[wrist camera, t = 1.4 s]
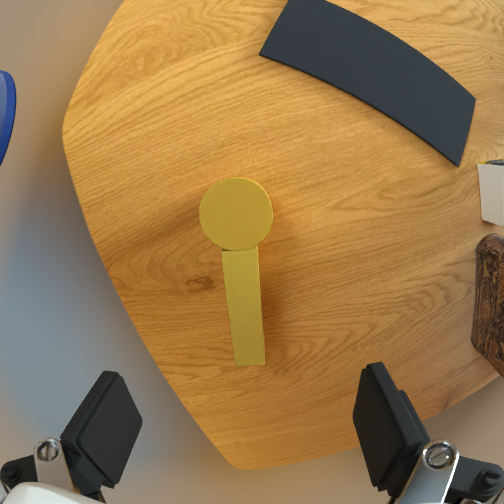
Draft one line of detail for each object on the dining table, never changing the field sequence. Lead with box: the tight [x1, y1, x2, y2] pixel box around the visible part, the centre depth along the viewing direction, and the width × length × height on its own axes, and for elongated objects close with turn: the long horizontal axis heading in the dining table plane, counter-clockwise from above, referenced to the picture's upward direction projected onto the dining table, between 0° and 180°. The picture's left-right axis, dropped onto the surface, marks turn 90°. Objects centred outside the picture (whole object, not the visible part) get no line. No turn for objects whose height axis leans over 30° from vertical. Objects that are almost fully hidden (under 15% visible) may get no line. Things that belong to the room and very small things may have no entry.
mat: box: [259, 0, 476, 167], centre depth 21 cm, size 24×10×1 cm, turn 67°
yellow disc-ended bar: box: [199, 177, 273, 366], centre depth 26 cm, size 18×6×4 cm, turn 4°
